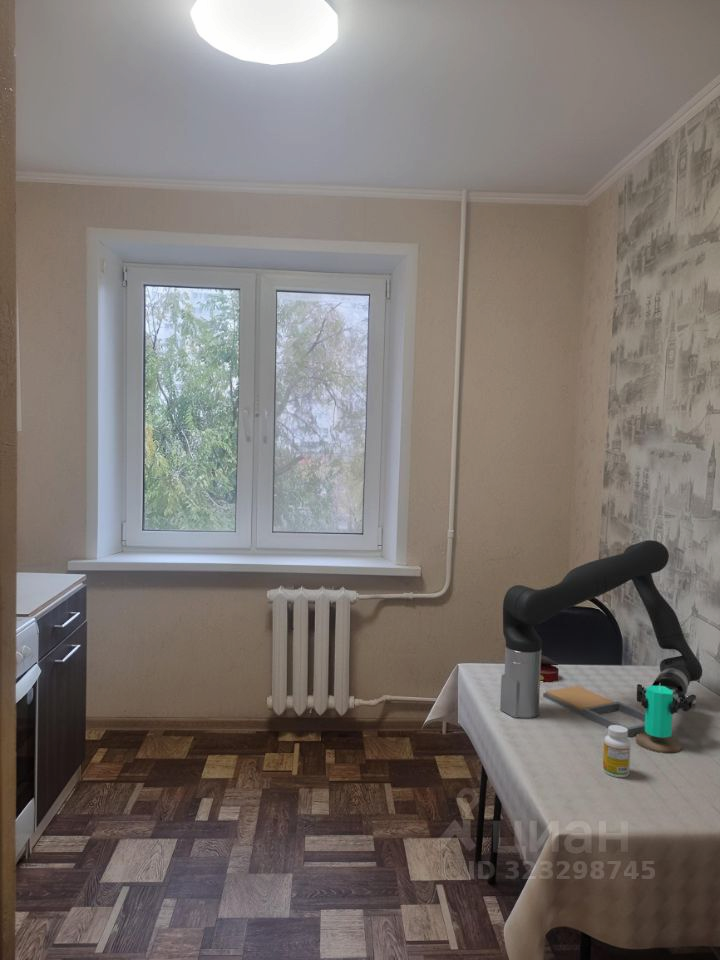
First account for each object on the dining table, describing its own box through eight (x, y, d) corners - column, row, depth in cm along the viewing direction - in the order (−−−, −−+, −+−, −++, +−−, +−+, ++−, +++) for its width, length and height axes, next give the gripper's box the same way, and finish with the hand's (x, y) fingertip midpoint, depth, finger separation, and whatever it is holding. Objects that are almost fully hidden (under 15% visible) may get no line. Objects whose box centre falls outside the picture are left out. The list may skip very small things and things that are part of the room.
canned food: (523, 690, 218) (514, 658, 221) (551, 684, 221) (542, 652, 225) (540, 684, 208) (530, 650, 212) (570, 678, 211) (559, 645, 215)
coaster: (661, 756, 162) (661, 752, 162) (626, 739, 171) (626, 736, 171) (690, 748, 167) (690, 745, 167) (655, 732, 176) (655, 729, 176)
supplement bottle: (608, 764, 157) (610, 721, 157) (632, 771, 154) (634, 728, 153) (599, 772, 153) (601, 728, 153) (624, 780, 150) (626, 735, 149)
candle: (655, 738, 165) (657, 688, 165) (639, 728, 171) (640, 679, 170) (677, 736, 167) (679, 686, 166) (660, 726, 173) (662, 678, 172)
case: (627, 737, 173) (628, 729, 172) (543, 696, 199) (543, 690, 199) (664, 728, 179) (664, 721, 178) (577, 690, 205) (577, 684, 205)
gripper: (641, 666, 184) (627, 685, 170) (702, 677, 176) (692, 698, 162) (640, 695, 185) (625, 715, 170) (700, 707, 177) (691, 730, 163)
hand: (658, 707), depth 166 cm, fingers closed on candle, 5 cm apart
